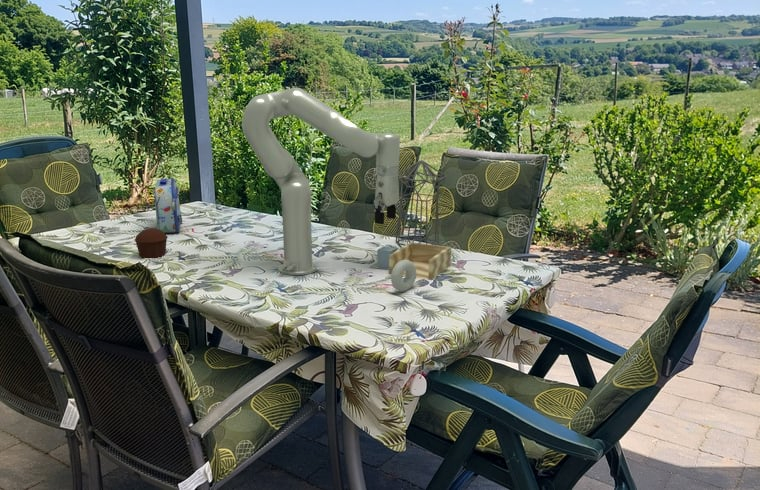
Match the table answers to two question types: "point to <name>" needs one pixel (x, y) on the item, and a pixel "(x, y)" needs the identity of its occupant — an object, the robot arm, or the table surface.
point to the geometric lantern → (430, 173)
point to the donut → (398, 272)
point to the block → (384, 256)
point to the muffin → (151, 243)
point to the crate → (423, 259)
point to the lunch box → (167, 206)
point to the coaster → (379, 267)
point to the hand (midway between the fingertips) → (385, 220)
